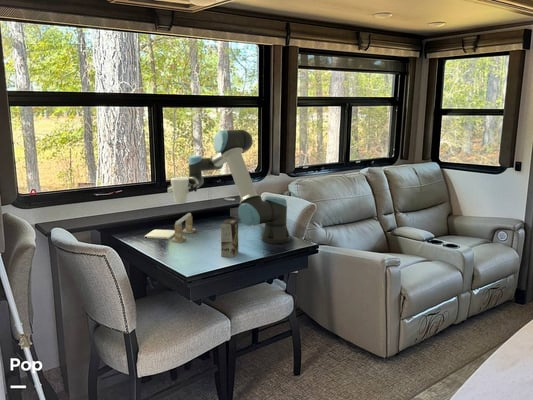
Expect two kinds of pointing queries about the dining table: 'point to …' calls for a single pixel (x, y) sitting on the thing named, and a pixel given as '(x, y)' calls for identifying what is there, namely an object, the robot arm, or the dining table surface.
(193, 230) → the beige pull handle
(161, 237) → the cream pad
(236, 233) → the coffee box
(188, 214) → the steel bar
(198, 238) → the dining table surface
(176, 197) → the foam cup
